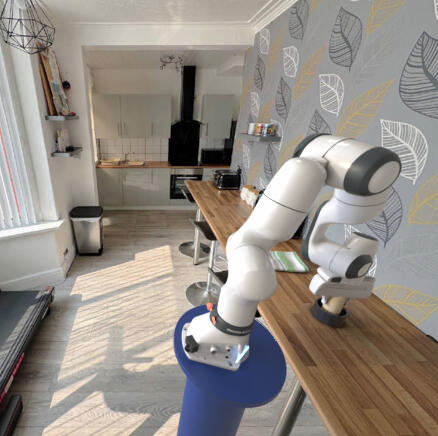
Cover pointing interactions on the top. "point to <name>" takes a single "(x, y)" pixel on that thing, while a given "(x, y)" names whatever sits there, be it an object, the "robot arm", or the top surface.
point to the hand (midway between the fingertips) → (333, 303)
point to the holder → (328, 315)
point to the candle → (334, 305)
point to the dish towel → (287, 262)
